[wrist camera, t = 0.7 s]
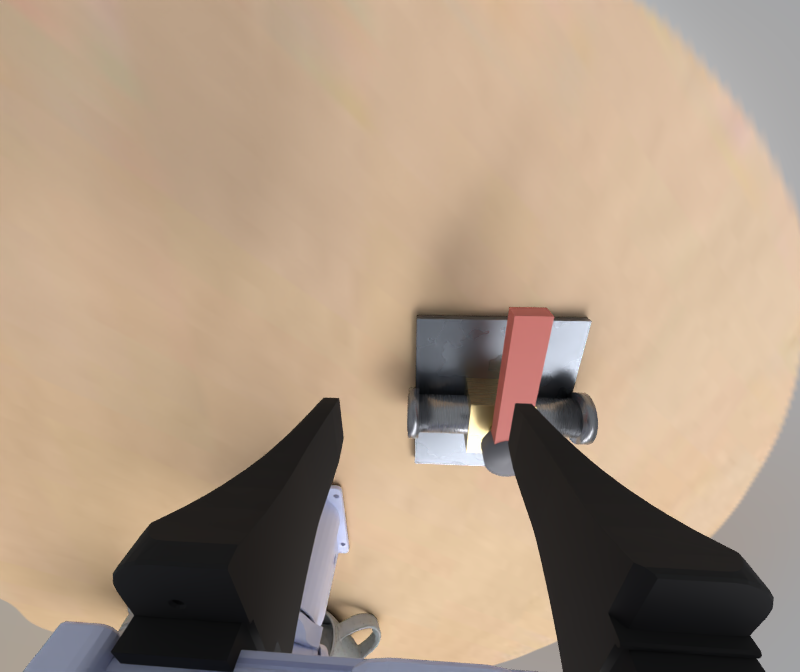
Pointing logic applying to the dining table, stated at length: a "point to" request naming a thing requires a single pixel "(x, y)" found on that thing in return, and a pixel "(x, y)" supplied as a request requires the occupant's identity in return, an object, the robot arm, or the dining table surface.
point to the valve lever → (516, 380)
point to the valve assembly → (487, 385)
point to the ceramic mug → (342, 641)
